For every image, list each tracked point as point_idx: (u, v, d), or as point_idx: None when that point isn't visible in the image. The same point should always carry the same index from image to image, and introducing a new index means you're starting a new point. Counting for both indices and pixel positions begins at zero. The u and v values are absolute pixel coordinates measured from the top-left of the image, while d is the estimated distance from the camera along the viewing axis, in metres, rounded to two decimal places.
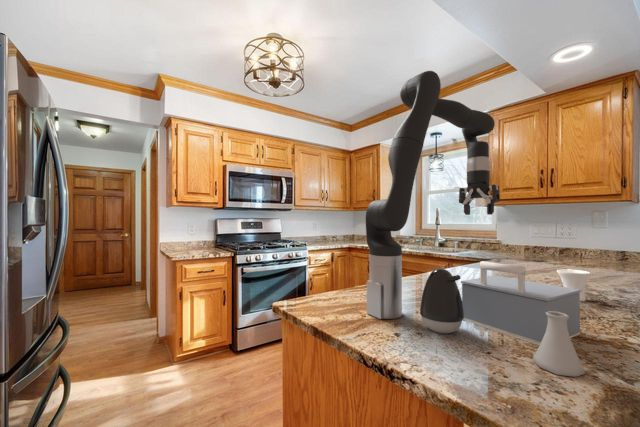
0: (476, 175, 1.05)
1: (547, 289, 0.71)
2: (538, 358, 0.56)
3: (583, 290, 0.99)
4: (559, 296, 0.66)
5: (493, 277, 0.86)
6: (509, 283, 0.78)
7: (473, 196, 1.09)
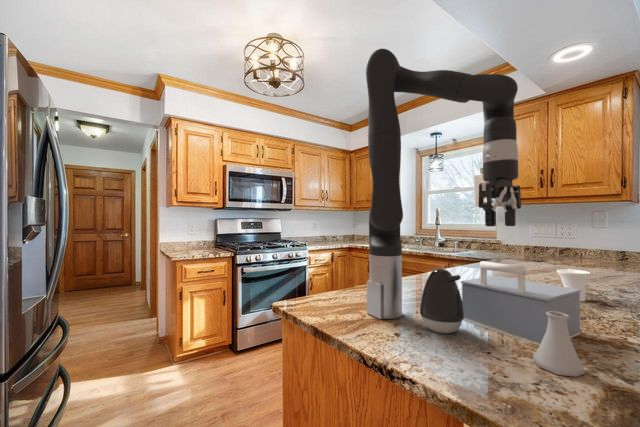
0: None
1: (547, 289, 0.71)
2: (538, 358, 0.56)
3: (583, 290, 0.99)
4: (559, 296, 0.66)
5: (493, 277, 0.86)
6: (509, 283, 0.78)
7: (502, 198, 0.71)
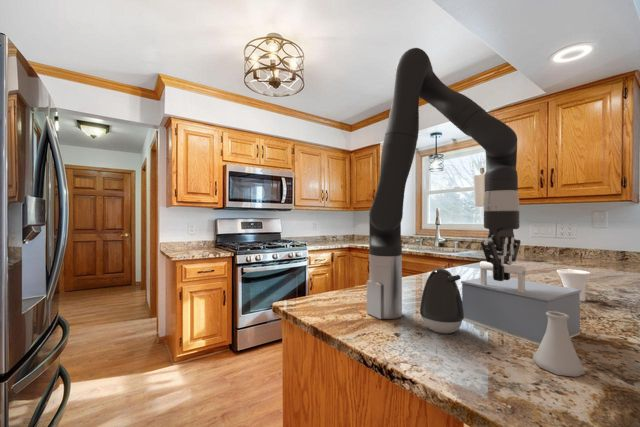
0: None
1: (547, 289, 0.71)
2: (538, 358, 0.56)
3: (583, 290, 0.99)
4: (559, 296, 0.66)
5: None
6: (509, 283, 0.78)
7: None
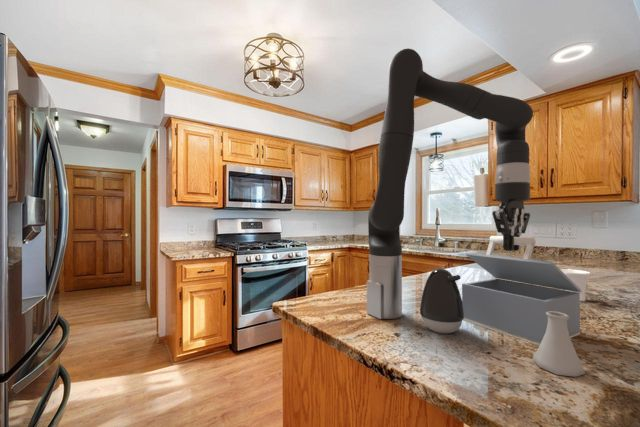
0: (529, 190, 0.73)
1: None
2: (538, 358, 0.56)
3: (583, 290, 0.99)
4: (562, 272, 0.66)
5: None
6: None
7: None
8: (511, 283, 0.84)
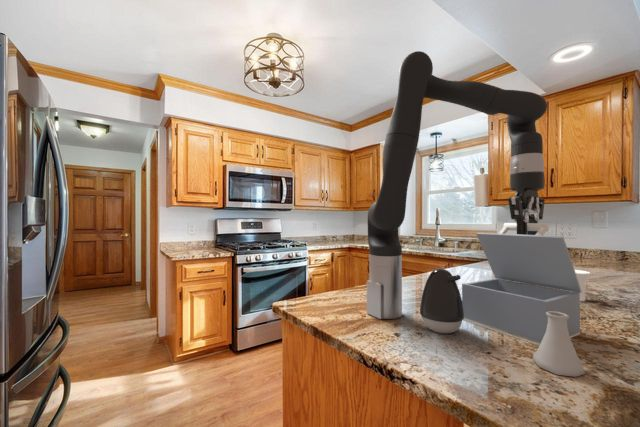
0: None
1: None
2: (538, 358, 0.56)
3: (583, 290, 0.99)
4: (569, 255, 0.68)
5: None
6: None
7: None
8: (511, 283, 0.84)
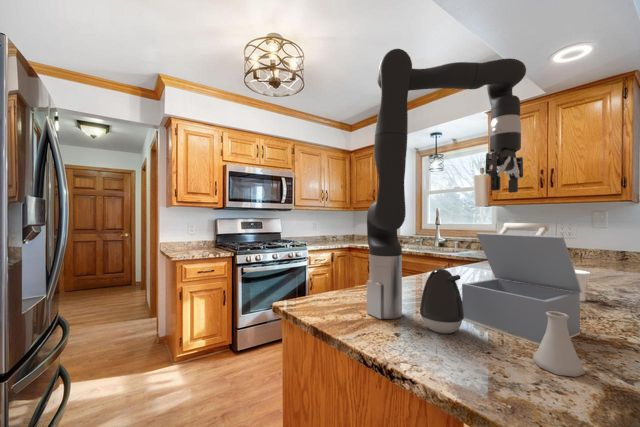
0: (520, 140, 0.81)
1: None
2: (538, 358, 0.56)
3: (583, 290, 0.99)
4: (569, 255, 0.68)
5: None
6: None
7: (506, 166, 0.82)
8: (511, 283, 0.84)
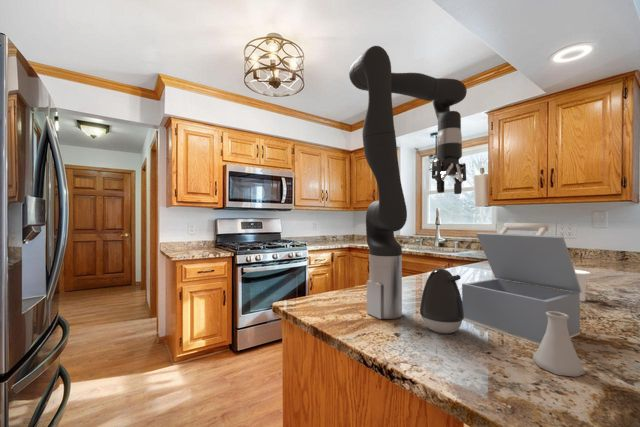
0: (461, 149, 0.95)
1: None
2: (538, 358, 0.56)
3: (583, 290, 0.99)
4: (569, 255, 0.68)
5: None
6: None
7: (449, 172, 0.96)
8: (511, 283, 0.84)
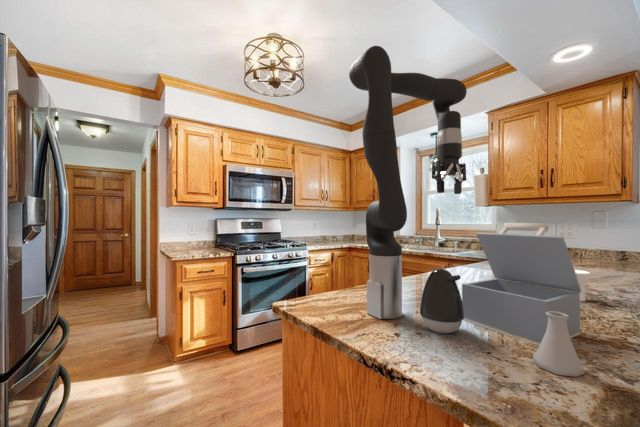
0: (461, 149, 0.95)
1: None
2: (538, 358, 0.56)
3: (583, 290, 0.99)
4: (569, 255, 0.68)
5: None
6: None
7: (449, 172, 0.96)
8: (511, 283, 0.84)
